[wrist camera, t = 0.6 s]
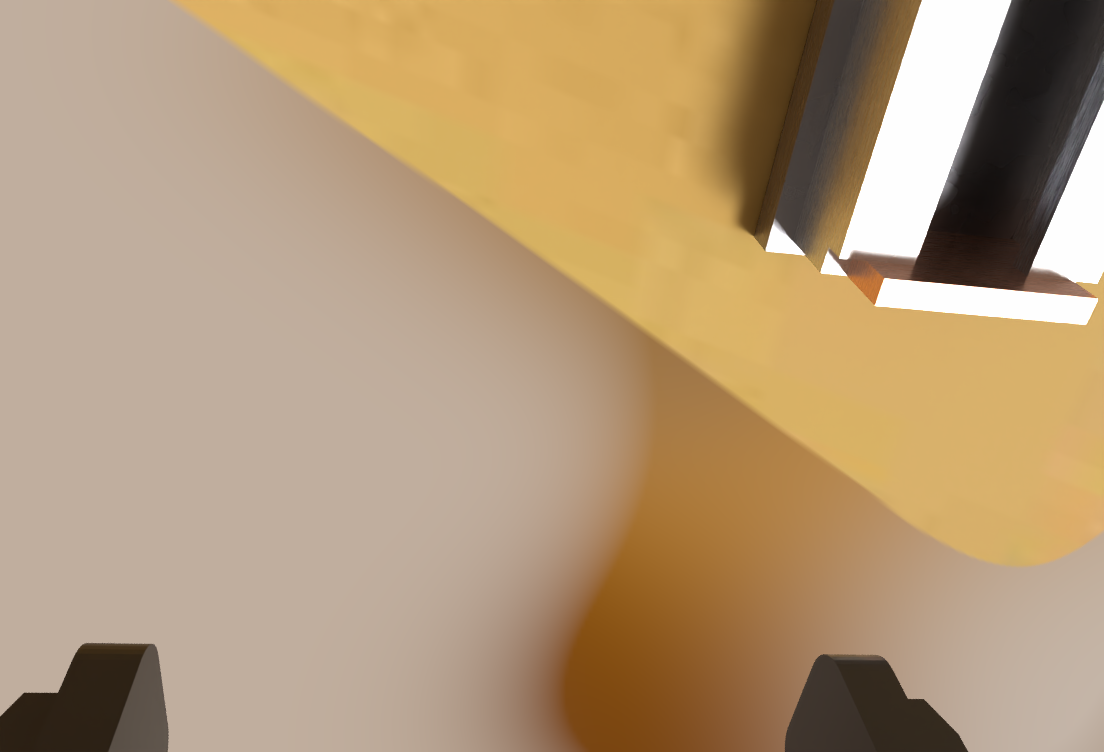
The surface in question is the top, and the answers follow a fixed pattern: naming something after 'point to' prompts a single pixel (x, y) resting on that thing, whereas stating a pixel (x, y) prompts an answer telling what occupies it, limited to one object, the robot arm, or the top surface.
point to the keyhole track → (986, 130)
